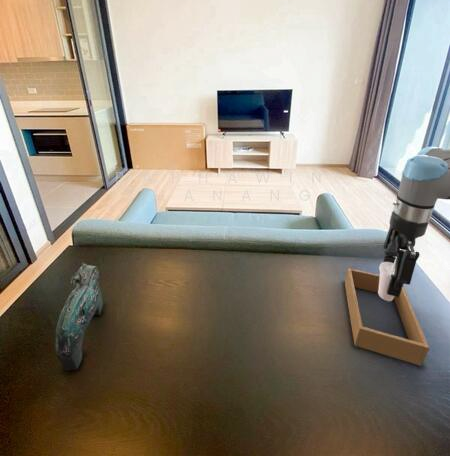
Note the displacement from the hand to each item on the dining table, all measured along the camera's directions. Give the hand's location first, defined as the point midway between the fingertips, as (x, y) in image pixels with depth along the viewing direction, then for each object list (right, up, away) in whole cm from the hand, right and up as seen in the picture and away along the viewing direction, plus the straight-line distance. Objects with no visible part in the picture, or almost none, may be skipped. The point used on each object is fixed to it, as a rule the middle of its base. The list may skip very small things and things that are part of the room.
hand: (389, 284), depth 70 cm
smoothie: (0, -4, +2) cm, 5 cm away
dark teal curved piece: (-86, -15, +1) cm, 88 cm away
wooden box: (0, -13, +5) cm, 14 cm away
